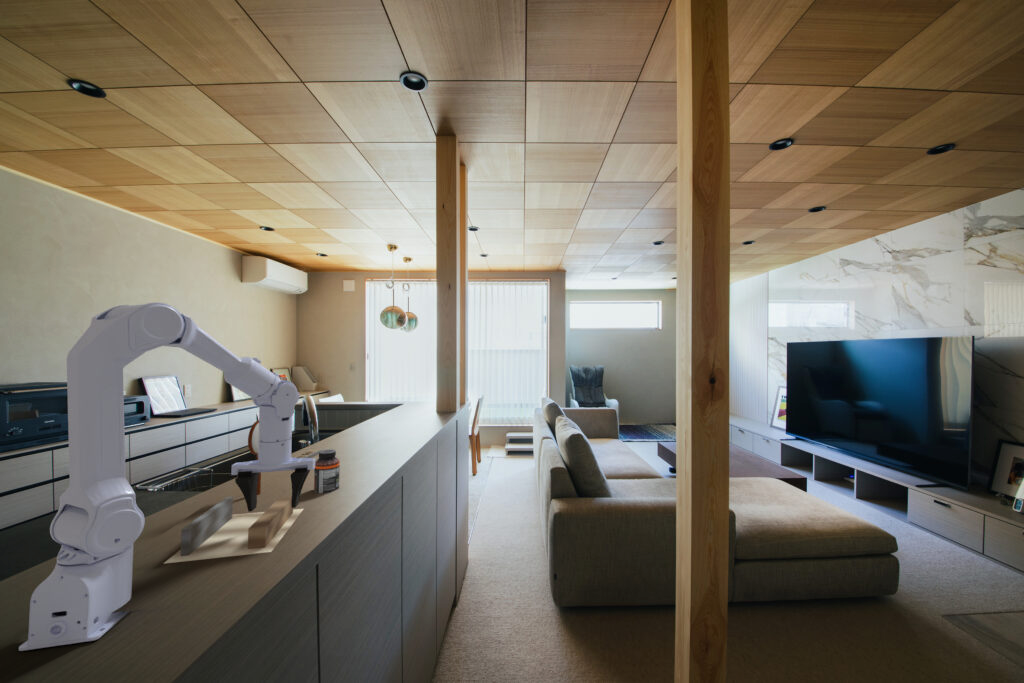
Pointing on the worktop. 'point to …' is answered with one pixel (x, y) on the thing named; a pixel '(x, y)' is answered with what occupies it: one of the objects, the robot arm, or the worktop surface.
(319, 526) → the worktop surface
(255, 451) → the magnifying glass
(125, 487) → the robot arm
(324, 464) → the supplement bottle
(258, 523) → the walnut bar
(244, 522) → the board
